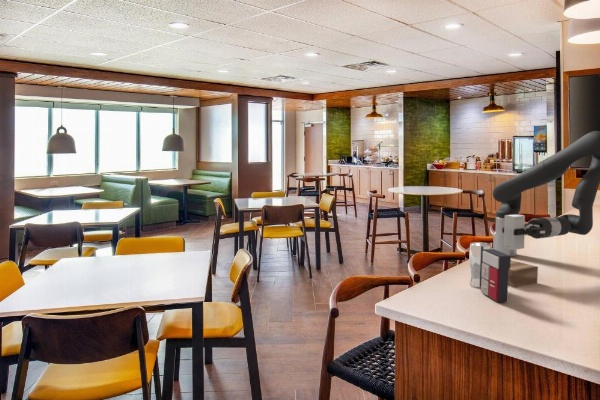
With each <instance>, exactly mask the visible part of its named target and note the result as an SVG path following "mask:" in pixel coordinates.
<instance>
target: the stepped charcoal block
mask: <svg viewBox="0 0 600 400" xmlns="http://www.w3.org/2000/svg"><path fill="white" fill-rule="evenodd" d="M511 257H512V256H509V255H507V254H505V253H502V252H500V251H497V250H495V249H493V248H490V249H484V250H483V263H482V279H481V288H480V292H481V293H482V294H483V293H484V294H483V295H484V296H486V295H487V297H488V296H489V297H488V298H489V299H491V298H492V299H491V300H492V301H494V300H495V302H496V301H497V302H498V303H499V304H502V303H503V304H505V303H504V302H507V303H508V293H509V292H508V288H509V286H508V270H509V269H510V263H511V260H512V259H511ZM497 302H496V303H497Z"/></svg>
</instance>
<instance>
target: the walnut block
mask: <svg viewBox="0 0 600 400" xmlns="http://www.w3.org/2000/svg"><path fill="white" fill-rule="evenodd" d="M538 274H539V266H537V265H533V264H528V263H525V262H521V261H517V260H512V259H511V263H510V269H509V270H508V287H510V286H511V287H510V288H513V287H514V288H518V286H519V287H524V286H529V285H534V284H538V277H539V275H538Z"/></svg>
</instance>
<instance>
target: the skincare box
mask: <svg viewBox="0 0 600 400" xmlns="http://www.w3.org/2000/svg"><path fill="white" fill-rule="evenodd" d="M525 220H526V215H523V214H518V215H516V214H515V215H505V225H504V248H506V249H510V250H516V249H517V250H521V249H525V235H514V234H513V233H514V229H520V228H522V229H523V228H525V223H526V221H525Z"/></svg>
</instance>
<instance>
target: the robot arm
mask: <svg viewBox="0 0 600 400" xmlns="http://www.w3.org/2000/svg"><path fill="white" fill-rule="evenodd" d="M588 156H591V162H590V164H589V168H588V169H587V171H586V173H585V175H583V176H582V178H581V179H580V180H579V182H578V184H577V185H576V188H575V190H574V193H573V198H572V201H571V207H572V208H573V209H576V210H578V211H579V214H577V215H576V214H573V213H572V214H571V213H569V214H563V215H560V216H553V217H549V216H547V217H535V218H531V219H530V220H529V221H528V222H525V228H523V229H522V228H520V229H514V233H513V234H514V235H524V236H528V237H531V238H533V239H534V240H535V239H536V240H537V239H545V238H547V239H548V238H554V237H558V236H565V235H567V234H568V233H572V234H575V235H576V234H577V235H582V236H585V235H586V236H587V235H588V234H589V233H590V232H591V230H592V228H593V226H594V225H593V224H594V219H593V218H594V217H593V216H594V214H593V213H594V211H593V210H594V209H593V207H594V203H595V200H596V196H597V193H598V190H599V187H600V130H593V131H590V132H588V133H586V134H584V135H583V136H581V137H580V138H578V139H577V140H575V141H574V142H572V143H571V144H569V145H568V146H566V147H565V148H562V149H561V150H559V151H558V152H555V153H554V154H552V155H551V156H549V157H546V158H545V159H542V160H541V161H539V162H537V163H536V164H534V165H533V166H530V167H529V168H527V169H526V170H524V171H523V172H521V173H519V174H518V175H515V176H514V177H511V178H509V179H507V180H504V181H502V182H500V183H498V184H496V185H495V187H494V188H493V190H492V197H493V199H494V200H495V201H496V202H498V203H501V205H500V207H499V208H498V209H497V210H496V211H495V230H494V232H493V235H492V236H493V237H492V238H493V239H492V241H493V242H492V249H495V250H497V251H500V252H502V253H505V254H507V255H509V256H511V257H515V256H517V252H518V251H517V250H518V249H516V250H510V249H506V248H504V225H505V215H515V214H516V215H520V211H521V204H522V193H523V192H525V191H528V190H531V189H534V188H537V187H540V186H543V185H546V184H549V183H551V182H553V181H555V180H557V179H559V178H560V177H562V176H563V175H565V174H566V172H567V171H568V170H569V169H570V167H571V165H572V164H574V163H575V162H577V161H579V160H581V159H583V158H586V157H588Z"/></svg>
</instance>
